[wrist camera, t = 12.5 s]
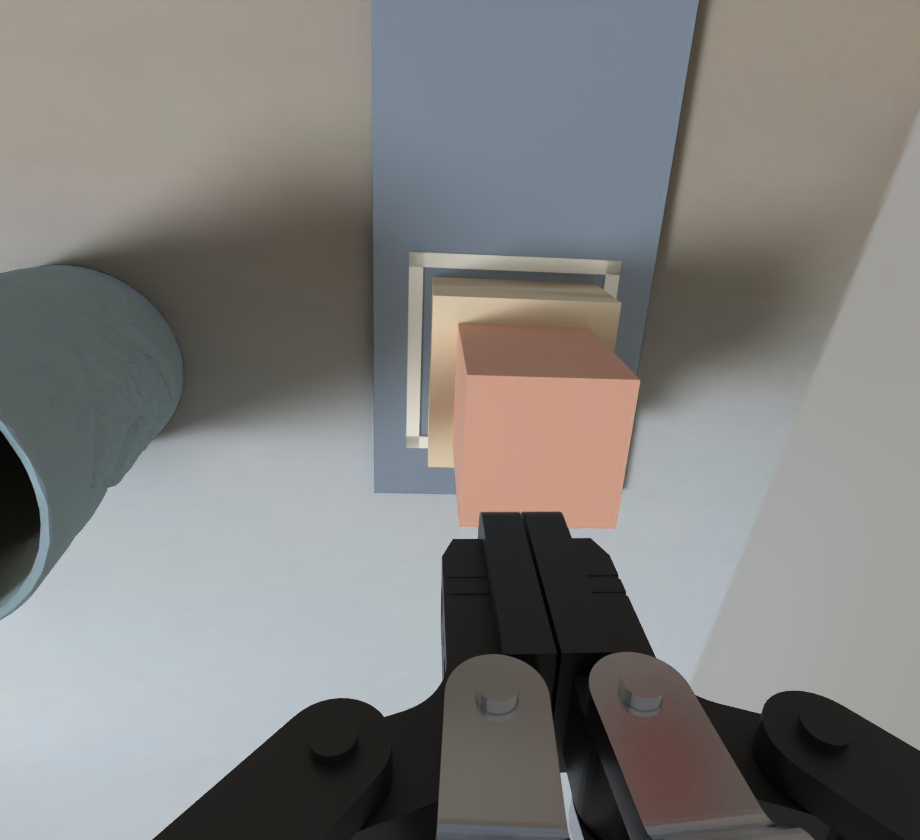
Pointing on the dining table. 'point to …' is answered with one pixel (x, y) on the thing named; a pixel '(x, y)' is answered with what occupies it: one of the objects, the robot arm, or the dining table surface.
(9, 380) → the grey-green pot
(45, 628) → the dining table surface
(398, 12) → the board
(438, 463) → the oak base block
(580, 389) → the terracotta block
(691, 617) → the dining table surface
